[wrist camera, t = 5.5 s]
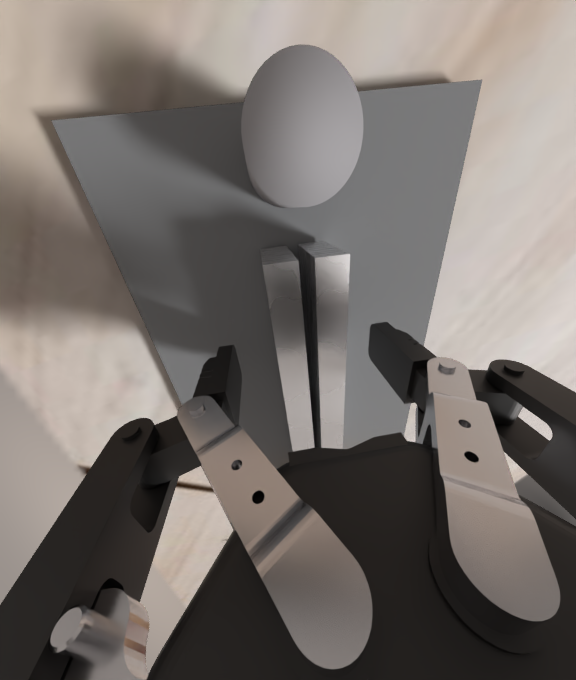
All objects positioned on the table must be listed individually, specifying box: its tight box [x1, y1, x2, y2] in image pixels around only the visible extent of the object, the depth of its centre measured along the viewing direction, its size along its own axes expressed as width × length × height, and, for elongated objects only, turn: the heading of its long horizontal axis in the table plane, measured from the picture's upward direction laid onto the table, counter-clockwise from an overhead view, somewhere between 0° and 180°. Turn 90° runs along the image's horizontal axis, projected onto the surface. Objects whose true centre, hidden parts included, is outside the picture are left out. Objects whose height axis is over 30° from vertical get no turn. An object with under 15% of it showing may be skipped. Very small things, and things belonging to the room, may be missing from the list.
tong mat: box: [51, 45, 482, 469], centre depth 13 cm, size 25×16×6 cm, turn 6°
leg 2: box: [298, 241, 350, 449], centre depth 14 cm, size 19×1×4 cm, turn 5°
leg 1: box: [260, 246, 315, 451], centre depth 14 cm, size 19×1×4 cm, turn 6°
